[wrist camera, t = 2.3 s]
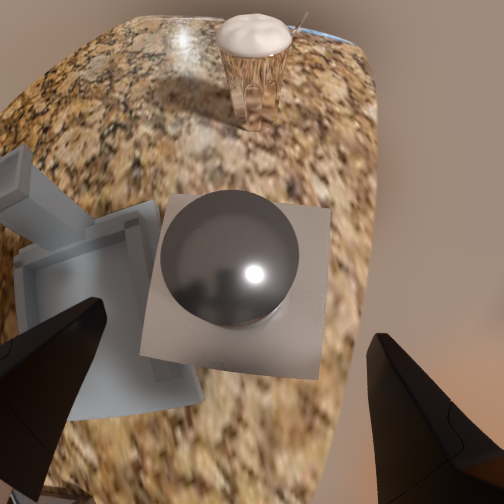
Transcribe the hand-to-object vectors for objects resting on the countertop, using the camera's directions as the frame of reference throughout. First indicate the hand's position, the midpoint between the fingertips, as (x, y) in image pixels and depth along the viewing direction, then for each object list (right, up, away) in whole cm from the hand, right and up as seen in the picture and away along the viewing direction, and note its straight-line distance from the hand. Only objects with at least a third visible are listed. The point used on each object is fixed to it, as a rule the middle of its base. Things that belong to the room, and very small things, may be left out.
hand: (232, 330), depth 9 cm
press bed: (-10, -2, +9) cm, 14 cm away
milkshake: (+1, +13, +14) cm, 19 cm away
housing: (0, -1, +9) cm, 9 cm away
